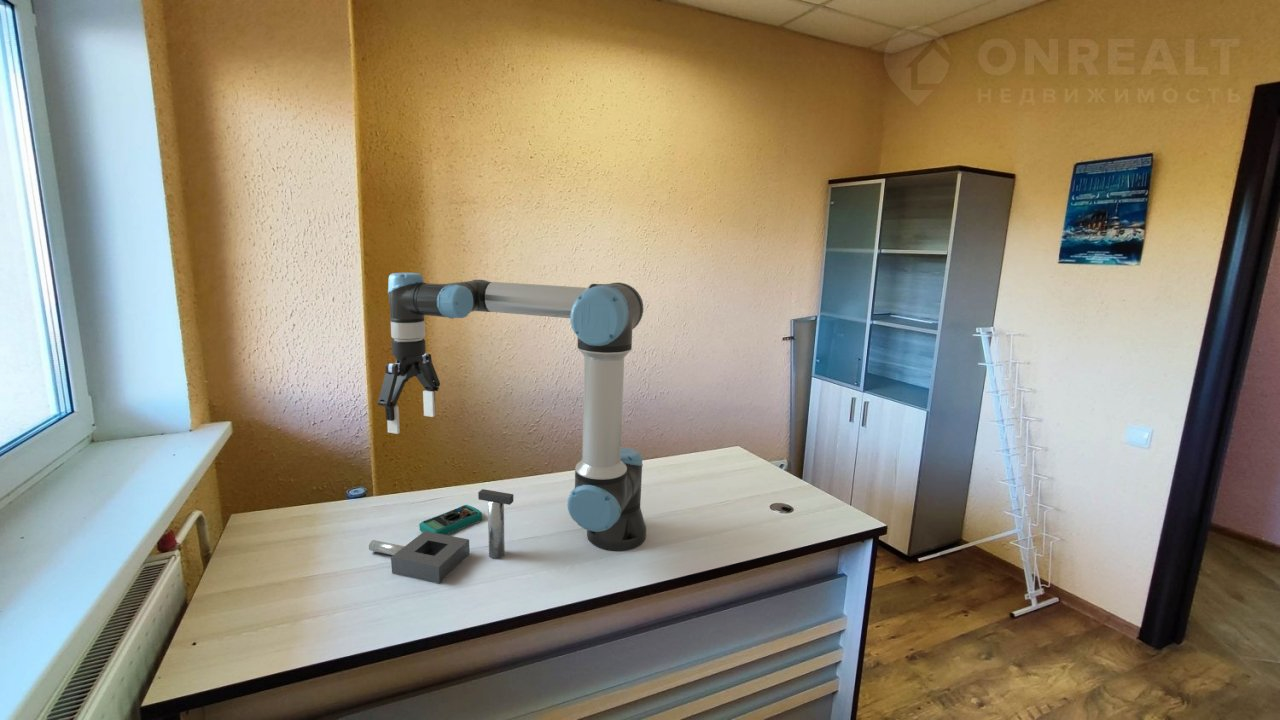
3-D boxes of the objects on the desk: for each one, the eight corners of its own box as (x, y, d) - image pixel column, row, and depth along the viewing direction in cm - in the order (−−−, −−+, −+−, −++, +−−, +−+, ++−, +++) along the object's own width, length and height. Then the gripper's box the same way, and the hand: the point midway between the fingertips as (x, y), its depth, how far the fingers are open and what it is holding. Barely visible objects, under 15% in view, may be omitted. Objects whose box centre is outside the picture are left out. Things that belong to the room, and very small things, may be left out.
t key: (515, 554, 136) (515, 492, 132) (508, 562, 132) (507, 499, 129) (485, 548, 138) (484, 487, 134) (477, 556, 134) (476, 493, 131)
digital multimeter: (484, 520, 152) (484, 510, 151) (434, 542, 140) (434, 531, 140) (468, 511, 156) (467, 502, 156) (418, 532, 145) (417, 521, 144)
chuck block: (469, 554, 135) (469, 539, 134) (439, 583, 123) (438, 567, 122) (390, 539, 140) (389, 524, 139) (354, 565, 129) (352, 549, 128)
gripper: (427, 329, 148) (430, 408, 153) (356, 346, 124) (362, 438, 129) (452, 332, 146) (455, 411, 151) (385, 349, 123) (391, 442, 127)
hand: (412, 424), depth 140 cm, fingers open, 13 cm apart
